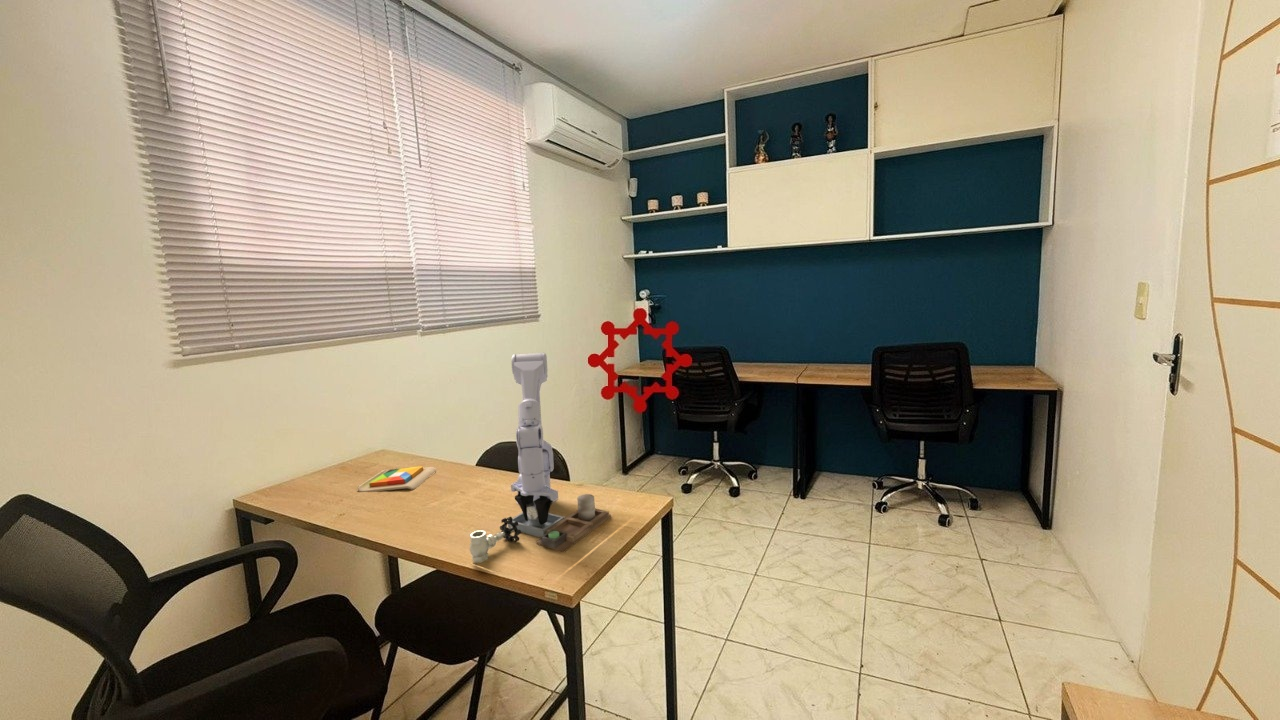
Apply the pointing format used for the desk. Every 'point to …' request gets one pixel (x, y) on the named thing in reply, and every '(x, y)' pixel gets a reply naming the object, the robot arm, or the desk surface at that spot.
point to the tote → (534, 530)
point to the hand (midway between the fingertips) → (536, 521)
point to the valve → (491, 540)
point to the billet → (533, 516)
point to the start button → (553, 535)
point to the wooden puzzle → (397, 479)
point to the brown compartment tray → (575, 525)
